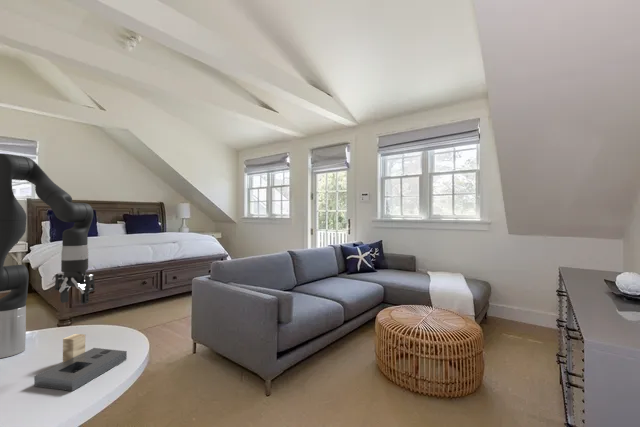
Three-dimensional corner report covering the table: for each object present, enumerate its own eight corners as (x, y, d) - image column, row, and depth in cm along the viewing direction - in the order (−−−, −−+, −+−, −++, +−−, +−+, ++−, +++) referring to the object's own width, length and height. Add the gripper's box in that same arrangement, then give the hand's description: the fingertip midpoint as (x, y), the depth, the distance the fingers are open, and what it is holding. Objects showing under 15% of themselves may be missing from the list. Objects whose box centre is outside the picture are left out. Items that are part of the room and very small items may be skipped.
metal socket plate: (34, 385, 92) (34, 375, 92) (94, 355, 112) (94, 347, 112) (72, 391, 90) (72, 380, 90) (126, 359, 109) (126, 350, 109)
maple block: (62, 364, 106) (63, 338, 106) (75, 358, 110) (75, 333, 110) (73, 365, 105) (73, 339, 105) (85, 359, 109) (85, 334, 109)
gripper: (47, 258, 105) (47, 304, 105) (81, 260, 103) (81, 307, 102) (69, 255, 112) (68, 299, 112) (101, 257, 110) (100, 301, 110)
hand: (74, 302), depth 107 cm, fingers open, 8 cm apart
